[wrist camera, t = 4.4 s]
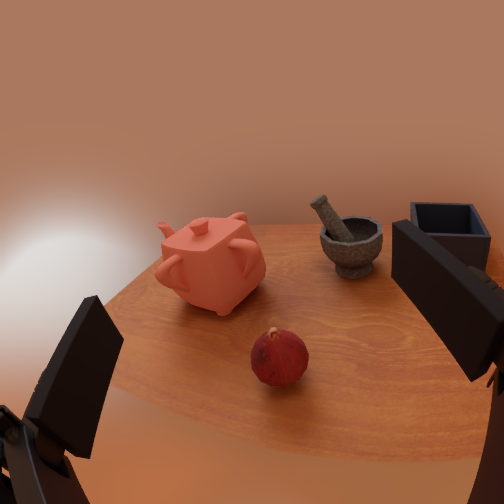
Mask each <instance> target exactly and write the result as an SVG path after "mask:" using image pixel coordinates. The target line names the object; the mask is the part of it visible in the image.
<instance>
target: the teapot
mask: <svg viewBox="0 0 504 504" xmlns="http://www.w3.org/2000/svg"><path fill="white" fill-rule="evenodd" d="M156 225H157V226H158V227H159V228H160V229H161V230H162V232H163V233H164V235H165V238H166V240H164V241H163V242H162V244H161V248H162V255H163V261H164V262H163V263H162V264H160V265H159V266H158V268H157V269H156V271H155V277H156V279H157V280H158V282H160V283H161V284H162V285H164V286H166V287H168V288H171V289H173V290H174V291H175V292H176V293H177V294H178V295H179V296H180V297H181V298H183V299H184V300H186V301H187V302H189V303H190V304H191V305H195V306H198V307H201V308H204V309H208V310H212V311H216V313H217V315H219V316H226V315H228V314H230V313H231V312H232V311H233V308H234V307H235V306H237V305H238V304H239V303H240V302H241V301H242V300H243V299H244V298H245V297H246V296H247V295H248V294H250V293H251V291H252V290H254V289H255V288H256V287H257V286H258V284H259V283H260V282H261V281H262V280H263V278H264V277H265V270H266V265H265V261H264V257H263V254H262V252H261V249H260V246H259V245H258V243H257V241H256V239H255V237H254V235H253V233H252V231H251V230H250V228H249V226H248V225H247V216H246V214H245V213H243V212H238V213H235V214H233V215H231V216H230V217H228V218H198V219H195V220H193V221H192V222H190V223H189V225H187V226H186V227H184V228H182V229H181V230H179V231H178V232H176V233H175V232H174V230H173V229H172V228H171V227H170V226H169V225H168V224H166V223H163V222H159V223H157V224H156Z"/></svg>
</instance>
